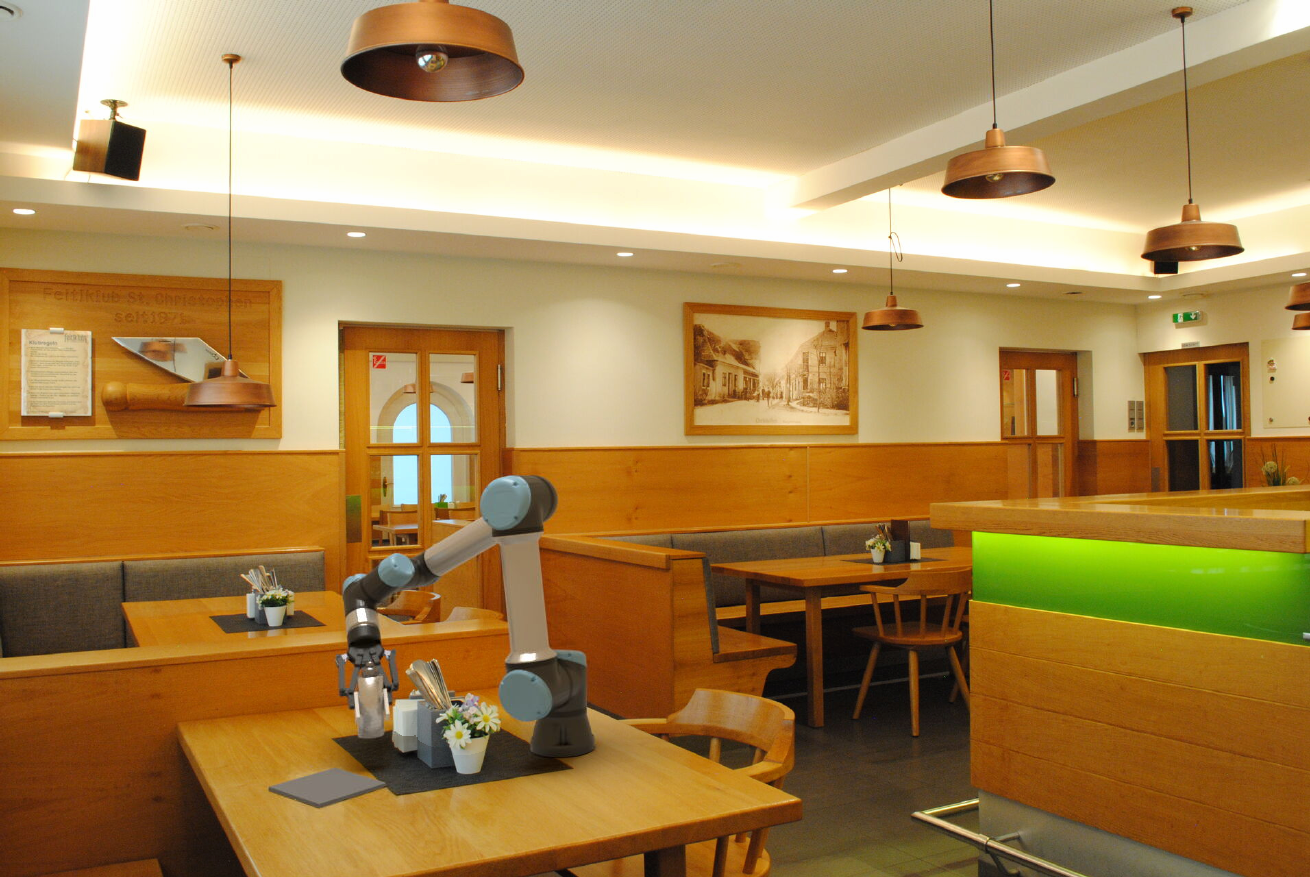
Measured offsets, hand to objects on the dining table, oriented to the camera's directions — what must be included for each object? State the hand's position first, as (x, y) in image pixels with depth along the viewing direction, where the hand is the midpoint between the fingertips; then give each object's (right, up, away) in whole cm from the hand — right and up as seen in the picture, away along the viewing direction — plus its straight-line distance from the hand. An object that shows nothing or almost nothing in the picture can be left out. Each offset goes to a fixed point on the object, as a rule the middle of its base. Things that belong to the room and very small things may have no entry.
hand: (372, 718), depth 219 cm
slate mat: (-6, -12, -11) cm, 17 cm away
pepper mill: (-1, -4, +3) cm, 6 cm away
